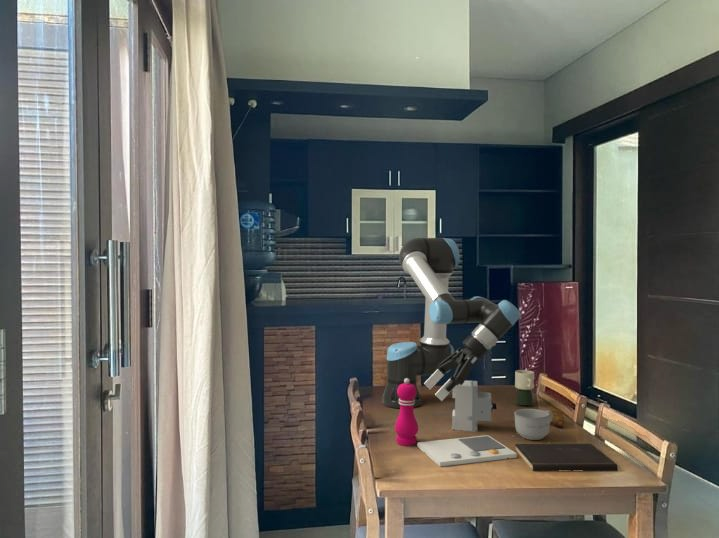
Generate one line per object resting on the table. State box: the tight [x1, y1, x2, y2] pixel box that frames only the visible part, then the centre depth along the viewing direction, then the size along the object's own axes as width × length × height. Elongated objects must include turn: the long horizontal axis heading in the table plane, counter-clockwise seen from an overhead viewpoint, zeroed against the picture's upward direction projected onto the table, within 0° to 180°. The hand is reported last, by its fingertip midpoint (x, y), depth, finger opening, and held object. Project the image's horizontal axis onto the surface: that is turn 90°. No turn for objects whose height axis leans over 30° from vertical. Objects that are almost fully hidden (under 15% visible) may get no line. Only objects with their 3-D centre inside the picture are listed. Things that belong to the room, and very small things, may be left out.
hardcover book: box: [514, 443, 619, 472], centre depth 151 cm, size 16×23×2 cm
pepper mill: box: [394, 378, 419, 447], centre depth 164 cm, size 7×7×20 cm
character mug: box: [514, 369, 535, 407], centre depth 206 cm, size 11×7×13 cm, turn 7°
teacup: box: [513, 408, 553, 441], centre depth 170 cm, size 14×11×8 cm
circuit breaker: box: [451, 380, 497, 432], centre depth 179 cm, size 8×14×15 cm, turn 78°
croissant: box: [548, 408, 565, 429], centre depth 185 cm, size 14×7×5 cm, turn 2°
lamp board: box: [416, 434, 518, 468], centre depth 157 cm, size 16×24×2 cm, turn 106°
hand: (432, 392), depth 164 cm, fingers open, 13 cm apart
